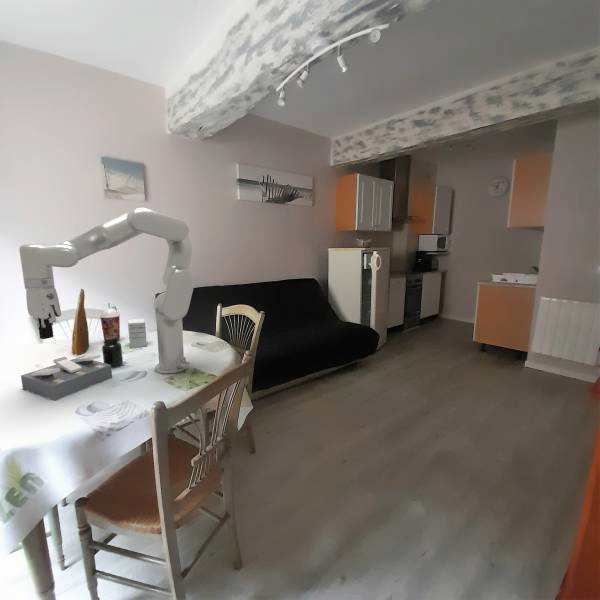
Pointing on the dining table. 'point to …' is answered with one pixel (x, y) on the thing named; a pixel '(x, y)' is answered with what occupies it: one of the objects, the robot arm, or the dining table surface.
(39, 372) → the rocker
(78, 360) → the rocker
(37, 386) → the console
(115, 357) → the supplement bottle
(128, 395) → the dining table surface
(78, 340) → the pancake mix bag
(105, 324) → the smoothie
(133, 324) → the supplement box
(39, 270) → the robot arm
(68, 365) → the rocker
